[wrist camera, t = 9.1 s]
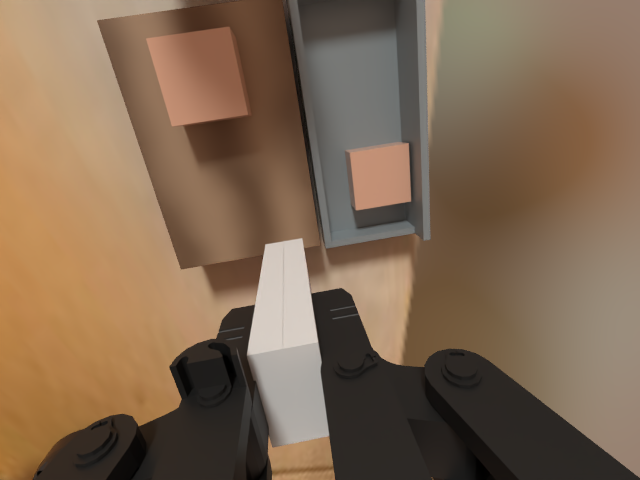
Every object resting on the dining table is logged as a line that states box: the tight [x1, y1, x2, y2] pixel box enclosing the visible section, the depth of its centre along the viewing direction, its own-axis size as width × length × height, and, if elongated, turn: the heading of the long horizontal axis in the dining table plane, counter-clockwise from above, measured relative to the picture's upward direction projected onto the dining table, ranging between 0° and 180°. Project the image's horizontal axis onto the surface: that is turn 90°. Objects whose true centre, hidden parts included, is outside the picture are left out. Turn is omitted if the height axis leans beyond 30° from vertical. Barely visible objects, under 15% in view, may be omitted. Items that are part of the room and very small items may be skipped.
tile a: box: [345, 142, 411, 211], centre depth 28 cm, size 5×5×2 cm
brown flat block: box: [97, 0, 320, 269], centre depth 26 cm, size 12×18×4 cm, turn 9°
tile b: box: [146, 27, 252, 127], centre depth 21 cm, size 5×5×2 cm
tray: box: [286, 0, 430, 248], centre depth 26 cm, size 9×20×5 cm, turn 9°
